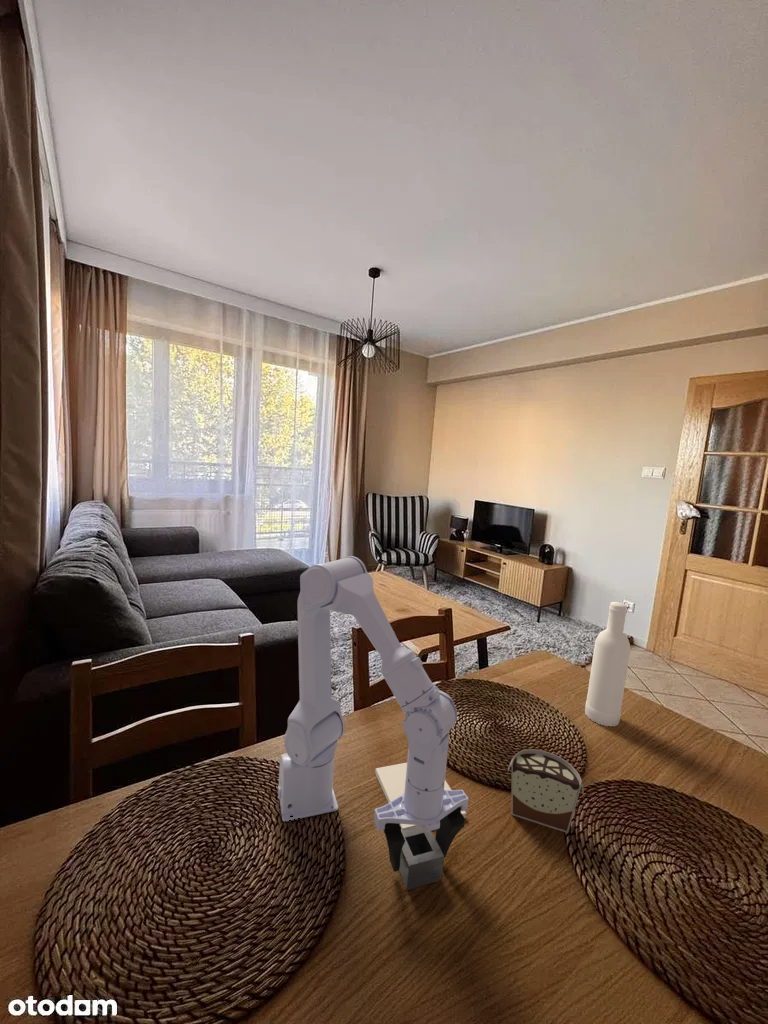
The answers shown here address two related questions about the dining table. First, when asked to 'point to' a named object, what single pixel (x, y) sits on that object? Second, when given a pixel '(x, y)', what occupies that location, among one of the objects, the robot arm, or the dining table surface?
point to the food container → (544, 788)
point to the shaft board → (397, 785)
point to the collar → (420, 858)
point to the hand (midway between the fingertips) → (417, 858)
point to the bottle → (609, 670)
